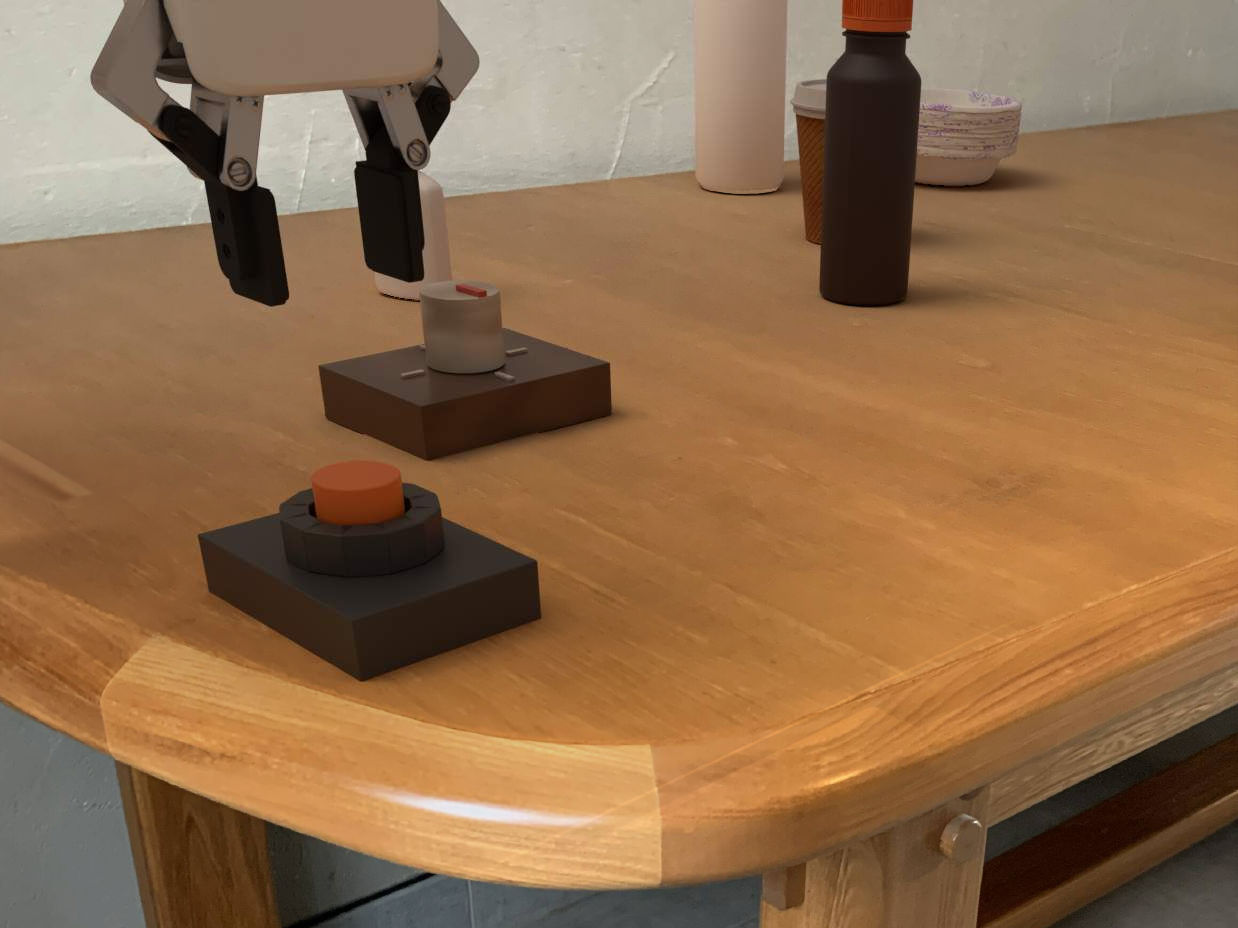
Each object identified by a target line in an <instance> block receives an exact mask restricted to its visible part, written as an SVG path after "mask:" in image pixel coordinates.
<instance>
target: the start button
mask: <svg viewBox="0 0 1238 928" xmlns="http://www.w3.org/2000/svg"><path fill="white" fill-rule="evenodd" d="M310 483H311V488H312V490H313V496H314V503H315V509H316V516H317V519H319V520H321V521H323V522H325V523H333V524H341V525H358V524H372V523H381V522H384V521H388V520H391V519H395V518H398V517H401V516H402V515H403V514H405V506H404V498H403V489H402V483H403V482H402V473H401V471H400V469H398V468H397V467H396V466H395V465H392V464H389V463H386V462H382V461H375V460H347V461H341V462H336V463H331V464H328V465H325V466H322V467H320V468H318V469H316V470H315V471H314V472H313V473H312V474H311V477H310Z"/></svg>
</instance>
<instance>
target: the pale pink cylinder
mask: <svg viewBox="0 0 1238 928" xmlns="http://www.w3.org/2000/svg"><path fill="white" fill-rule="evenodd" d="M693 17H694V18H693V25H694V26H693V28H694V29H693V33H694V35H693V39H694V41H693V44H694V47H693V49H694V51H693V54H694V59H693V60H694V163H695V164H694V165H695V166H694V171H695V173H694V175H695V179H696V181H697V183H698V182H699V183H700V184H701V185H704V186H707V187H712V188H717V189H726V190H741V191H744V190H745V191H749V190H764V189H772V188H776V187H779V188H780V186H781V184H783V181H784V176H785V175H784V173H785V172H784V171H785V170H784V169H785V132H786V131H785V129H786V128H785V126H786V123H785V121H786V88H787V87H786V83H787V82H786V79H787V41H788V39H787V35H788V0H693ZM699 183H698V184H699Z"/></svg>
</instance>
